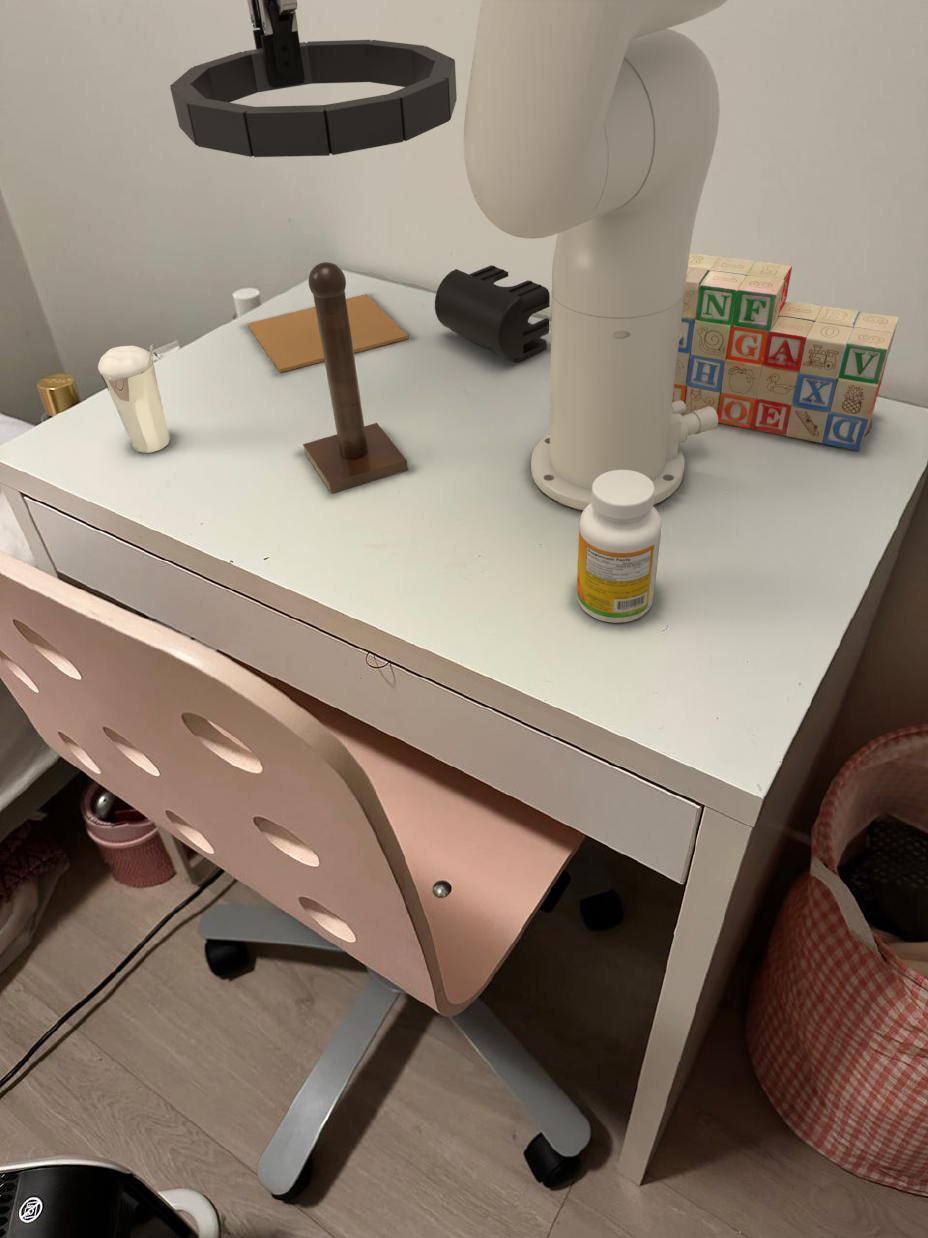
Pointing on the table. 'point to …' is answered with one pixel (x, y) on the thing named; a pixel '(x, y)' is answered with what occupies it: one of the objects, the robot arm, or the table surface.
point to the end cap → (494, 311)
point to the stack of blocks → (777, 354)
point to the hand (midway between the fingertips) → (283, 80)
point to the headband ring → (317, 126)
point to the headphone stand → (345, 397)
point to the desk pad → (299, 336)
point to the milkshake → (136, 395)
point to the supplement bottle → (618, 547)
